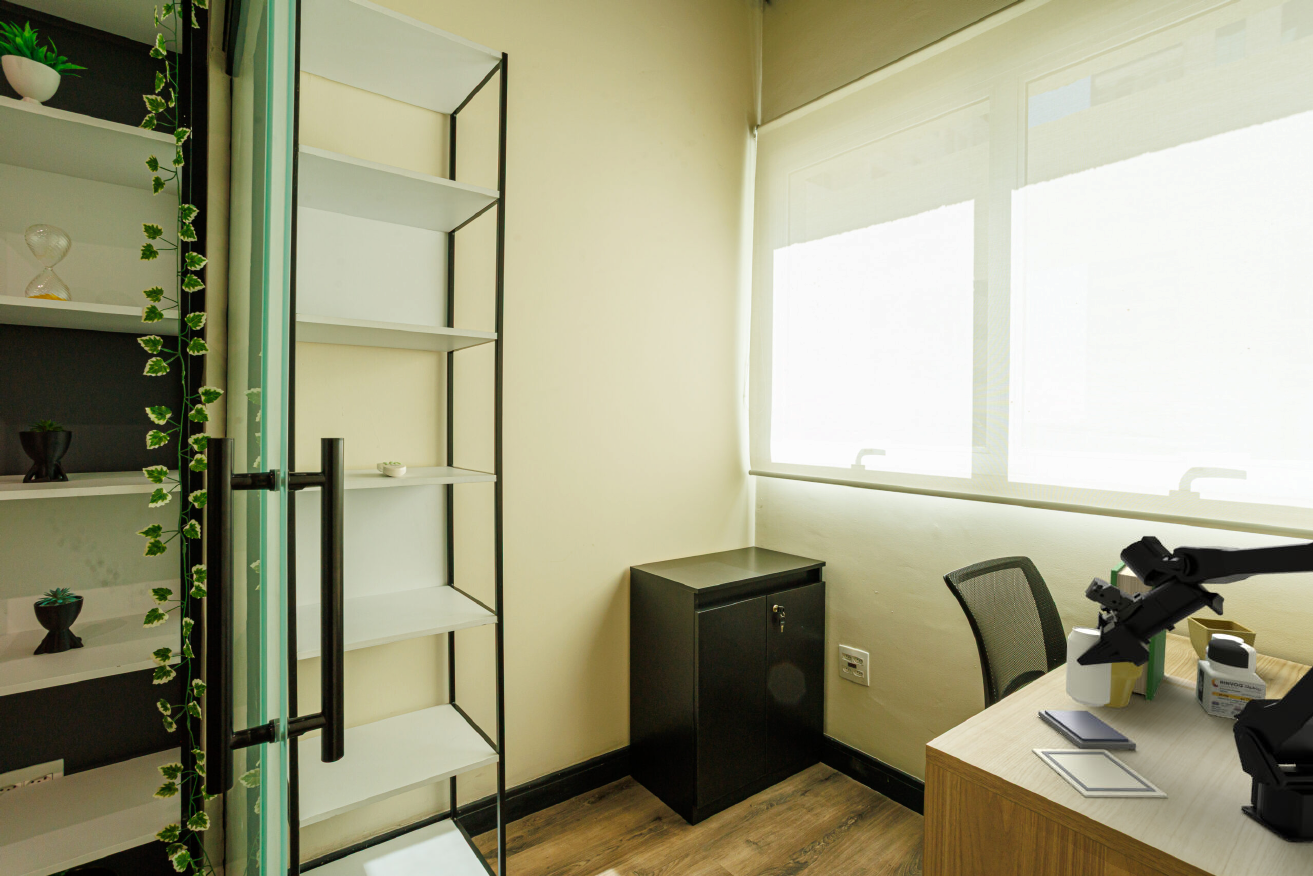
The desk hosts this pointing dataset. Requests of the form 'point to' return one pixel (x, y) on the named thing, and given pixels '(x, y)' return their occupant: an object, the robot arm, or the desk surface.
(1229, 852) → the desk surface
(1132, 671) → the plant pot
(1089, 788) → the print card
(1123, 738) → the ink pad
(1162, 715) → the desk surface
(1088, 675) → the beverage can
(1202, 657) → the flower pot
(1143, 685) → the hardback book
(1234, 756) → the desk surface
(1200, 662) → the container
